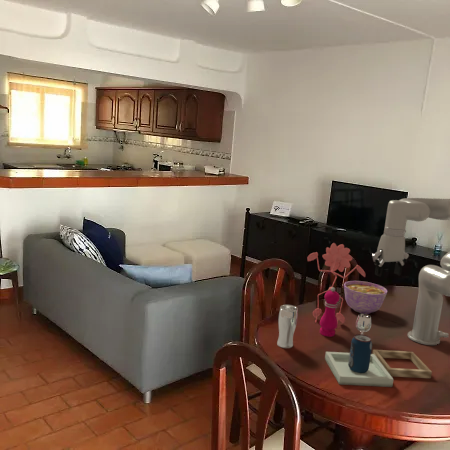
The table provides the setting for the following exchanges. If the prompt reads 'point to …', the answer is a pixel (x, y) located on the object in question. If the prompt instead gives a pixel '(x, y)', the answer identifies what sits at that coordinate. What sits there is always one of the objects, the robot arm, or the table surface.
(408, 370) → the oak frame
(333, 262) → the figurine
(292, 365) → the table surface
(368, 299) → the bowl of food
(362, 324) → the wineglass
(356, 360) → the soda can
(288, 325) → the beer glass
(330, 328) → the pepper mill
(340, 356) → the sage dish
